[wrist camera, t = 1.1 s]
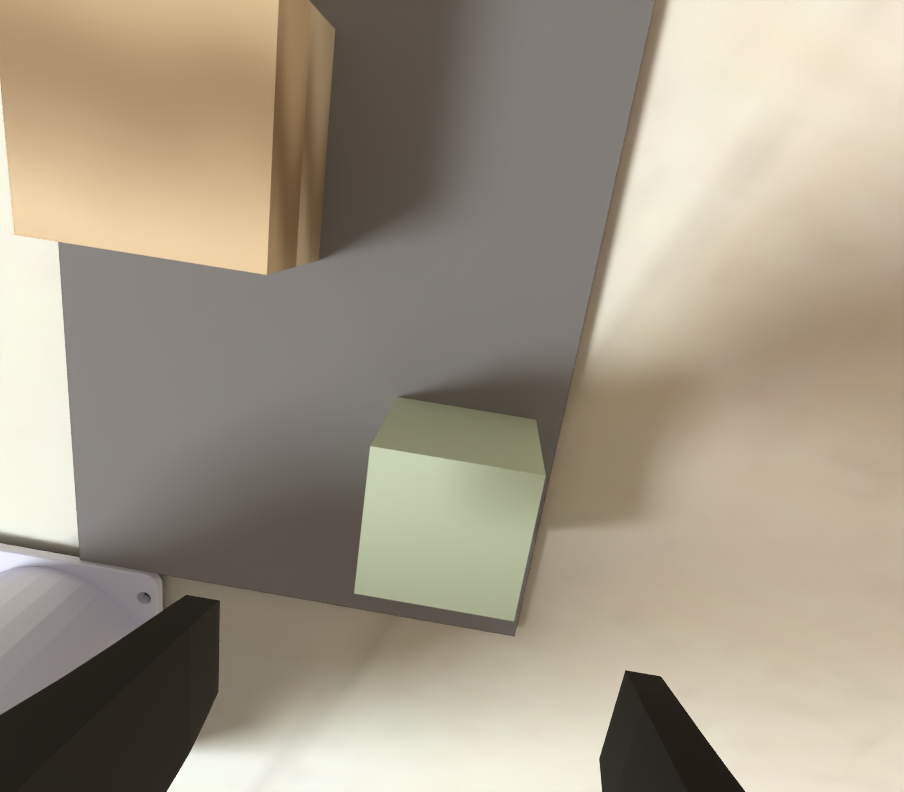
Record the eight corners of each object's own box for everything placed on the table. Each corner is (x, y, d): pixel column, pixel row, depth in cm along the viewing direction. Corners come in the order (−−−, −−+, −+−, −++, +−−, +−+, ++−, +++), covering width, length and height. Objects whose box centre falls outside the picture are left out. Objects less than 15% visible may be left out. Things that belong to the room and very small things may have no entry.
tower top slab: (296, 267, 15) (266, 274, 13) (74, 231, 15) (14, 234, 13) (311, 3, 13) (280, -32, 11) (59, -34, 13) (-14, -75, 11)
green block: (510, 540, 19) (514, 621, 16) (382, 519, 19) (353, 593, 16) (536, 419, 18) (545, 475, 14) (397, 396, 18) (370, 445, 14)
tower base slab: (318, 260, 17) (296, 267, 15) (121, 229, 17) (74, 231, 15) (335, 29, 15) (311, 3, 13) (113, -4, 15) (59, -34, 13)
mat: (514, 628, 21) (514, 636, 21) (87, 553, 21) (79, 560, 21) (654, -11, 15) (658, -17, 14) (46, -97, 15) (34, -105, 15)
